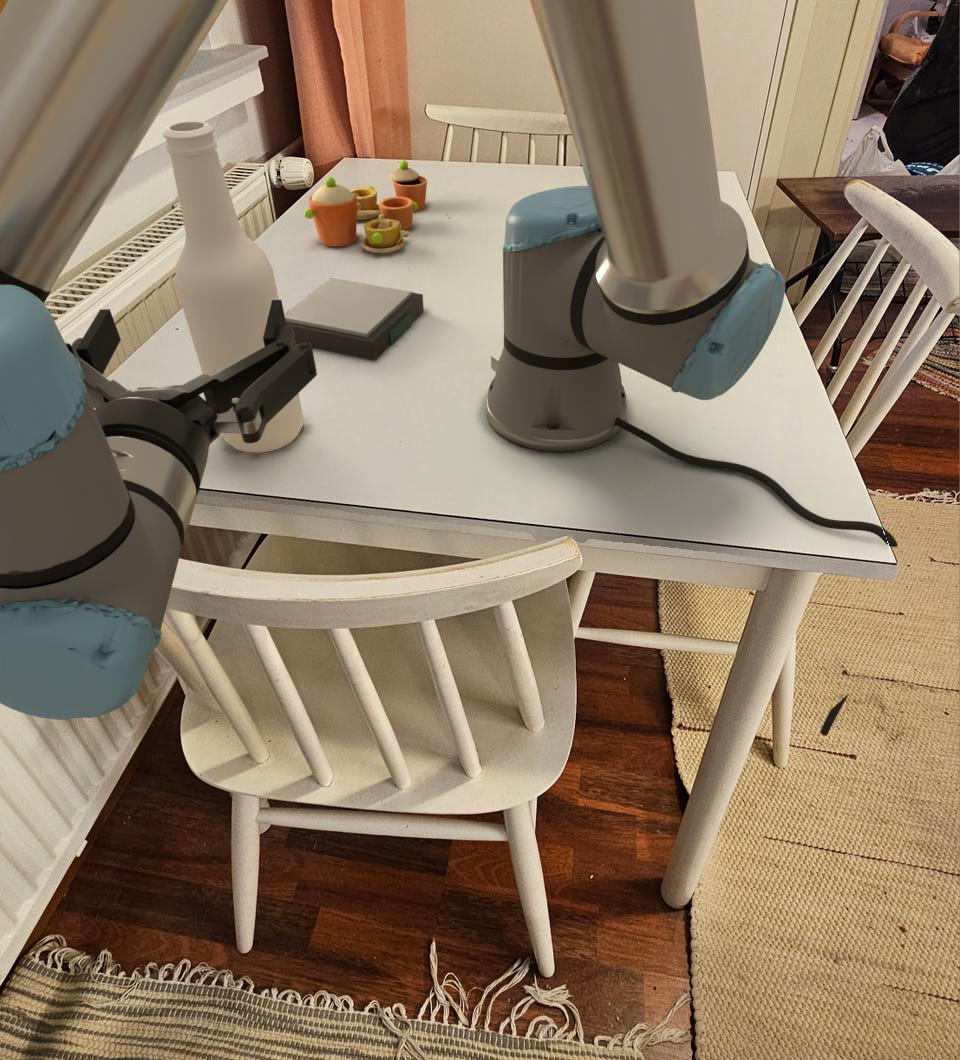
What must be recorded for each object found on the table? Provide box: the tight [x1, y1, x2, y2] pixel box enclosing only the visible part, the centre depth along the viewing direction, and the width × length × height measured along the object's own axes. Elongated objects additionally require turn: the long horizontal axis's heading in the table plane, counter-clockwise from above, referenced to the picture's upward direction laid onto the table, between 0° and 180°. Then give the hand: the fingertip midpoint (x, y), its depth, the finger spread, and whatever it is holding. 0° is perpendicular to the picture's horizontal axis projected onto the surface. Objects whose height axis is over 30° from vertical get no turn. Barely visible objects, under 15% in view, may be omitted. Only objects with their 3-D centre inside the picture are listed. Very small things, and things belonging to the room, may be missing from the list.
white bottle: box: [162, 120, 305, 454], centre depth 71 cm, size 9×9×30 cm
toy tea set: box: [303, 159, 428, 254], centre depth 122 cm, size 26×16×10 cm, turn 168°
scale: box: [284, 277, 425, 361], centre depth 98 cm, size 14×14×3 cm
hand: (195, 319), depth 61 cm, fingers open, 13 cm apart
